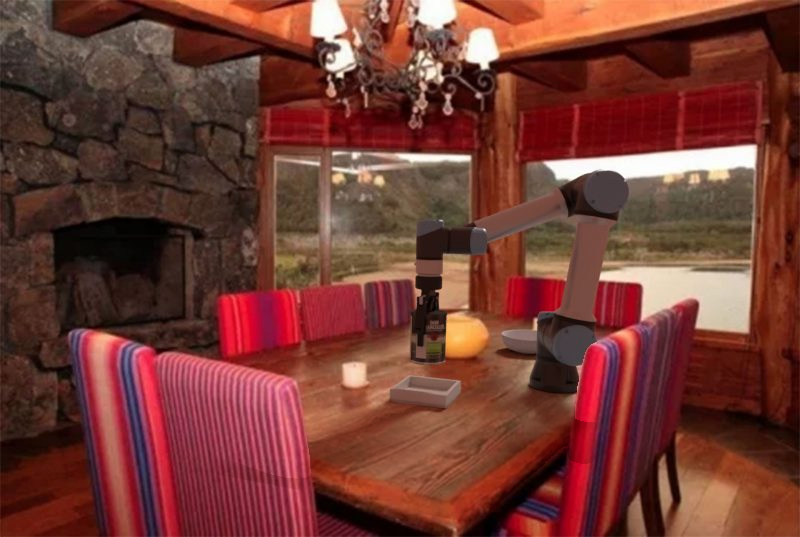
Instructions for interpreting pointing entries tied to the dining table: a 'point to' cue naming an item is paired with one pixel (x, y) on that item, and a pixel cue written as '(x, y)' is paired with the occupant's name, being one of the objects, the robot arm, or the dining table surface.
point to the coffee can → (430, 338)
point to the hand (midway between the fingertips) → (426, 353)
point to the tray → (425, 391)
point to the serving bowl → (520, 340)
